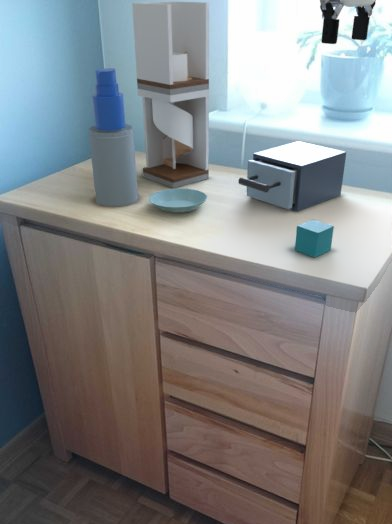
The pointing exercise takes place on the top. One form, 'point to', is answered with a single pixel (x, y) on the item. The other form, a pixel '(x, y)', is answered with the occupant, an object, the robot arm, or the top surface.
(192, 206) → the saucer
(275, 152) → the mini chest of drawers
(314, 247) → the cube
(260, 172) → the drawer
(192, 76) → the spiral staircase model
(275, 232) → the top surface
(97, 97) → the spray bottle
